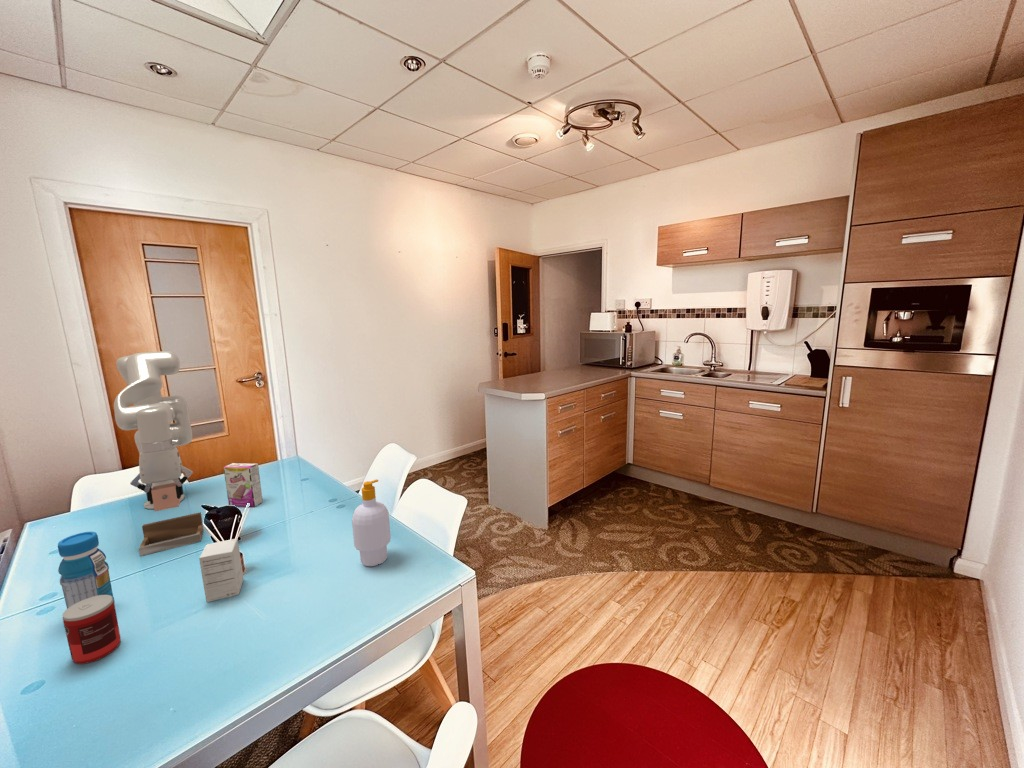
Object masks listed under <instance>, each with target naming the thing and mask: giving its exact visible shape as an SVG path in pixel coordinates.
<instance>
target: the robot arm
mask: <svg viewBox="0 0 1024 768" xmlns="http://www.w3.org/2000/svg"><path fill="white" fill-rule="evenodd" d="M115 364H116V367H117V371H118V372H119V374H120V376H121V377H122V379H123V380H124V381H125V382H126V384H127V386H125V387H124V388H122V389H121V390H120V392H119V393H118V394H117V395H116V397H115V398H114V402H113V411H114V418H115V419H114V420H115V424H116V425H117V427H118V428H119V429H121V431H133V430H137V431H135V433H134V442H135V446H136V448H137V451H138V453H139V454H138V455H139V457H138V459H139V460H138V467H139V468H138V469H139V470H138V471H139V473H138V474H137V475H135V478H133V479H132V480H131V481H130V485H131V486H133V487H135V488H137V489H139V490H141V491H142V492H144V493H145V494H146V502H144V504H143V507H144V508H145V509H149V510H154V504H153V498H152V493H151V490H152V488H153V486H159V485H164V484H170V483H176V494H177V498H178V499H180V502H182V501H183V500H185V494H184V489H183V484H184V483H185V482H186V481H188V479H189V478H190V477H191V476H192V475H193V474H194V471H193V470H191V469H190V468H188V467H186V466H184V465H183V463H182V459H181V456H180V452H179V450H178V448H177V447H180V446H181V447H182V446H185V445H188V444H190V443H191V442H192V441H193V430H192V425H191V419H190V418H191V417H190V413H189V408H188V404H187V402H186V399H185V397H183V396H179V395H170V396H162V391H161V390H162V388H163V381H162V376H172V375H173V376H174V375H176V374H178V373H179V372H180V369H181V363H180V360H179V356H178V355H177V354H176V353H175V352H173V351H170V350H168V351H167V350H164V351H163V350H162V351H144V352H143V351H142V352H137V353H133V354H131V355H125V356H121V357H119V358H118V359H117V361H116V362H115ZM173 421H175V422H173ZM183 473H184V476H183V477H182V478H181V476H182V474H183Z"/></svg>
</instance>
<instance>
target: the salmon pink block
mask: <svg viewBox="0 0 1024 768" xmlns="http://www.w3.org/2000/svg"><path fill="white" fill-rule="evenodd" d="M151 493H152V498H153V504H154V509H153V510H154V512H158V511H162V510H163V511H165V510H169V509H173V508H174V509H175V508H178V507H180V505H181V504H180V503H181V501H180V499H178V498H177V494H176V483H170V484H164V485H159V486H153V488H152V490H151Z"/></svg>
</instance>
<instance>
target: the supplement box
mask: <svg viewBox="0 0 1024 768" xmlns="http://www.w3.org/2000/svg"><path fill="white" fill-rule="evenodd" d="M198 558H199V565H200V572H201V578H202V584H203V590H204V595H205V600H206V601H205V602H207V603H209V602H213V601H218V600H223V599H226V598H230V597H234V596H238V595H239V594H240V592H241V589H242V586H243V582H244V573H243V565H242V559H241V552H240V545H239V539H238V538H232V539H228V540H227V539H226V540H222V541H216V542H213V543H212V542H211V543H208V544H206V545H205V546H204V548H203V550H202V553H200V556H199V557H198Z"/></svg>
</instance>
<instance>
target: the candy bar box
mask: <svg viewBox="0 0 1024 768" xmlns="http://www.w3.org/2000/svg"><path fill="white" fill-rule="evenodd" d="M259 469H260V468H259V464H258V463H250V462H249V463H248V462H247V463H243V462H241V463H239V462H232V463H229V464H227V465H225V466H224V467H223V472H224V474H223V475H224V482H225V486H226V494H227V499H228V500H227V502H228V506H229V505H235V506H238V508H241V507H243V508H245V506H246V505H247V503H250V507H249V508H255V507H257V506H259V505H261V504H262V503H263V502H264V500H263V493H262V487H261V485H262V484H261V477H260V470H259ZM260 503H261V504H260Z"/></svg>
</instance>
